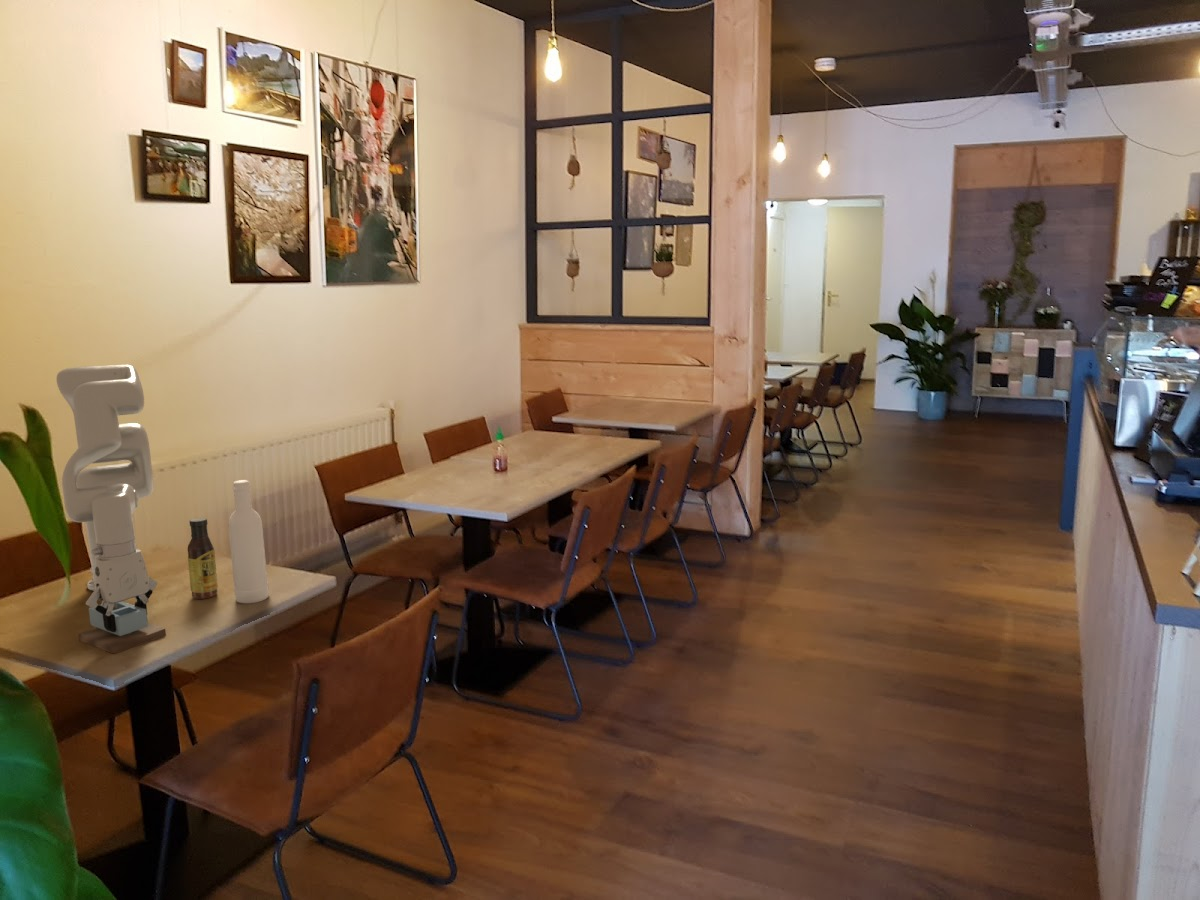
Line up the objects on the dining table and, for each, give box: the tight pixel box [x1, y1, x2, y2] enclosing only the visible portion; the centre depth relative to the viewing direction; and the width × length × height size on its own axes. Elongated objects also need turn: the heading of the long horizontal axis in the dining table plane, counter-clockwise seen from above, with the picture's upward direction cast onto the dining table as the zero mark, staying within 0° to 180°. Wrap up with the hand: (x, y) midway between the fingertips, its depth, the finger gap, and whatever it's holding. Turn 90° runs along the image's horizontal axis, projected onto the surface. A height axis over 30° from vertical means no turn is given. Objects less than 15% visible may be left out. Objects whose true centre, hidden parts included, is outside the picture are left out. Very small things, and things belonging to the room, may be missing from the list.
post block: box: [78, 603, 167, 655], centre depth 205 cm, size 14×12×8 cm
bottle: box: [227, 479, 270, 605], centre depth 226 cm, size 8×8×30 cm
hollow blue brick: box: [88, 601, 149, 636], centre depth 205 cm, size 12×6×4 cm, turn 57°
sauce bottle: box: [187, 517, 219, 600], centre depth 229 cm, size 6×6×20 cm
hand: (126, 624), depth 204 cm, fingers closed on hollow blue brick, 6 cm apart
